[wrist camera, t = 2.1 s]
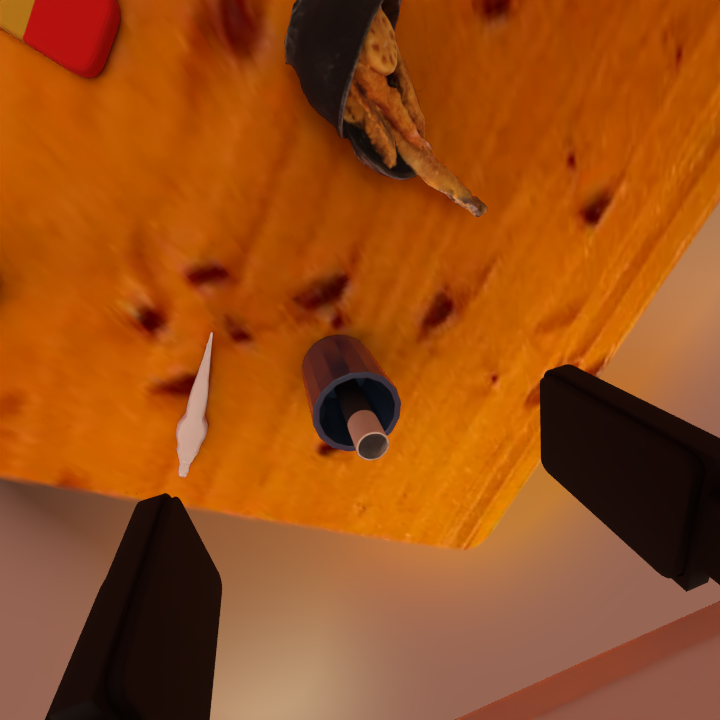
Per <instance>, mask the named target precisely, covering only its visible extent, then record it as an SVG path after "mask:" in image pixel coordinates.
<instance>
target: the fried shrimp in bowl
mask: <svg viewBox="0 0 720 720" xmlns="http://www.w3.org/2000/svg"><path fill="white" fill-rule="evenodd" d="M400 4H401V0H297V1H296V2H295V3H294V5H293V9H292V14H291V20H290V23H289V27H288V30H287V33H288V34H286V37H285V42H284V43H285V59H286V64H290V65H291V66H293V67H294V69H295V70H296V72H297V75H298V77H299V79H300V83H301V87H302V90H303V92H304V94H305V95H306V97H307V99H308V102H309V103H310V105H311V106H312V107H313V108H314V109H315V110H316V111H317V112H318V113H319V114H320V115H321V116H323V117H324V118H325V119H326V120H327V121H328V122H330V123H331V124H333V125H334V127H335V128H336V129H337V132H338V134H339V136H340V137H341V138H347V139H349V140H350V141H351V144H352V148H353V151H354V153H355V155H356V156H357V157H358V159H359V160H360V161H361V162H362V163H363V164H365V165H366V166H368V167H370V168H372V169H373V170H374V171H376V172H377V173H379V174H381V175H385V176H388V177H391V178H394V179H399V180H406V179H410V178H413V177H415V176H417V175H419V176H420V177H421V178H422V179H423V181H425V182H426V184H428V185H429V186H430V187H432V188H434V189H436V190H438V191H440V192H442V193H445V194H446V195H447V196H448V197H449V198H450V199H451V200H452V201H453V202H455V203H456V204H457V205H459V206H461V207H463V208H465V209H467V210H469V212H470V214H471V215H473V216H476V217H480V216H481V215H483V214H485V213H486V212H487V210H488V208H487V206H486V205H485V204H484V203H483V202H481V201H480V200H479V199H478V197H476V196H471V195H472V193H471V191H470V190H468V189H467V188H466V186H464V185H463V184H462V183H461V182H460V181H459V179H458V177H456V176H454V175H453V174H452V173H451V172H450V171H449V170H448V169H447V168H446V167H445V166H444V165H442V164H441V163H440V162H439V161H438V160H437V159H436V158H435V157H434V156H433V154H432V152H431V151H430V150H432V149H433V147H432V145H431V144H430V143H429V142H427V141H426V140H424V139H425V135H426V134H425V132H426V129H425V126H426V121H425V118H424V116H423V114H422V112H421V109H420V106H419V103H418V101H417V97H416V94H415V91H414V87H413V85H412V80H411V76H410V74H409V71H408V69H407V67H406V64H405V61H404V59H403V58H402V56H401V54H400V51H399V49H398V45H397V43H396V37H395V33H394V31H395V27H396V23H397V20H398V16H399V11H400Z"/></svg>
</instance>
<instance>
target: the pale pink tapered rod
mask: <svg viewBox="0 0 720 720" xmlns="http://www.w3.org/2000/svg"><path fill="white" fill-rule="evenodd" d="M212 338H213V333H212V332H211V333H210V337H209V341H208V344H207V347H206V351H205V354H204V357H203V359H202V362H201V364H200V367H199V371H198V374H197V377H196V379H195V382H194V385H193V387H192V390H191V393H190V397H189V400H188V404H187V410H186V414H185V415H183V416H182V418H181V419H180V420H179V422H178V424H177V430H176V437H177V443H178V446H177V450H176V451H177V453H178V456H179V462H180V466H179V469H178V471H179V476H180V477H186V476H187V474H188V472H189V470H190V464H191V462H192V461H193V459H194V457H195V456H196V455H197V454H198V453H199V448H200V446H201V444H202V442H203V441H204V439H205V438H206V433H207V429H208V423H207V420H206V417H205V411H206V407H207V401H208V392H209V374H210V363H211V348H212Z"/></svg>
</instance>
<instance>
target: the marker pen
mask: <svg viewBox="0 0 720 720" xmlns="http://www.w3.org/2000/svg"><path fill="white" fill-rule="evenodd" d="M333 389H334V391H335V394H336V397H337V399H338V402H339V404H340V407H341V410H342V412H343V415H344V418H345V420H346V423H347V425H348V430H349V433H350V435H351V438H352V440H353V443H354V446H355V448H356V451H357V453H358V455H359V456H360V457H361V458H363V459H365V460H375V459H378V458H380V457H382V456H383V455H384V454H385V453H386V451H387V450H388V447H389V440H388V437H387V436H386V434H385V432H384V430H383V428H382V426H381V424H380V422H379V421H378V419H377V417H376V415H375V414H374V413H373V411H372V409H371V407H370V405H369V403H368V401H367V399H366V397H365V395H364V394H363V392H362V390H361V388H360V386H359V384H358V382H357V380H356V378H352V379H350V380H347V381H345V382H343V383H341V384H338V385H337V386H336V387H334V388H333Z"/></svg>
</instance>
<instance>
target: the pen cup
mask: <svg viewBox="0 0 720 720" xmlns="http://www.w3.org/2000/svg"><path fill="white" fill-rule="evenodd" d="M302 375H303V382H304V386H305V391H306V395H307V399H308V404H309V408H310V412H311V417H312V421H313V425H314V427H315V429H316V431H317V433H318V435H319V437H320V438H321V439H322V440H323V441H325V442H326V443H327V444H328V445H330V446H331V447H333V448H337V449H341V450H344V451H356V448H355V446H354V443H353V440H352V438H351V435H350V433H349V430H348V425H347V423H346V420H345V418H344V415H343V412H342V410H341V407H340V404H339V402H338V399H337V397H336V394H335V391H334V389H333V388H334V387H336V386H337V385H338V384H341V383H343V382H345V381H347V380H350V379H352V378H356V380H357V382H358V384H359V386H360V388H361V390H362V392H363V394H364V395H365V397H366V399H367V401H368V403H369V405H370V407H371V409H372V411H373V413H374V414H375V415H376V417H377V419H378V421H379V422H380V424H381V426H382V428H383V430H384V432H385V434H386V436H388V435H389V434H390V433H391V432H392V430H393V429H394V427H395V425H396V423H397V421H398V419H399V416H400V406H401V401H400V398H399V395H398V392H397V390H396V388H395V386H394V385H393V383H392V382H391V381H390V379H389V378H388V376H387V375H386V374H385V372H384V371H383V369H382V368H381V367H380V365H379V364H378V362H377V361H376V360H375V358H374V357H373V355H372V354H371V353H370V351H369V350H368V349H367V348H366V347H365V346H364V345H363V344H362V343H361V342H360V341H359V340H357V339H355V338H353V337H350V336H346V335H333V336H329V337H326V338H323V339H321V340H320V341H318V342H317V343H315V344H314V345H313V346H312V347H311V348H310V349H309V351H308V352H307V354H306V356H305V358H304V361H303V365H302Z"/></svg>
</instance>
